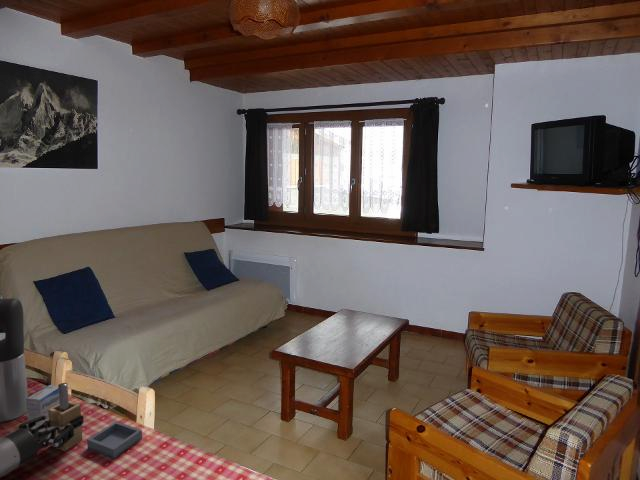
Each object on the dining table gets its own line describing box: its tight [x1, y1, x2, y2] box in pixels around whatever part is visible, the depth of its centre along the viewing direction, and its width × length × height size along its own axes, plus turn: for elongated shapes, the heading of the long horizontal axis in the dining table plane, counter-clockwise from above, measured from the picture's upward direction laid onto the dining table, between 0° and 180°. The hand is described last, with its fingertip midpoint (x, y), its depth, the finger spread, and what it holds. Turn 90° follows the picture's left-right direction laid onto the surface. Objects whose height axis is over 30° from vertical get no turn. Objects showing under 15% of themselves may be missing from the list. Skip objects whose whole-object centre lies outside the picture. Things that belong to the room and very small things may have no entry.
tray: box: [86, 421, 143, 460], centre depth 115 cm, size 9×9×2 cm
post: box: [57, 382, 70, 412], centre depth 114 cm, size 2×2×16 cm
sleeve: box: [48, 400, 83, 452], centre depth 114 cm, size 5×5×10 cm
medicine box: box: [26, 384, 59, 425], centre depth 123 cm, size 8×4×9 cm, turn 168°
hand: (74, 416), depth 116 cm, fingers closed on sleeve, 5 cm apart
